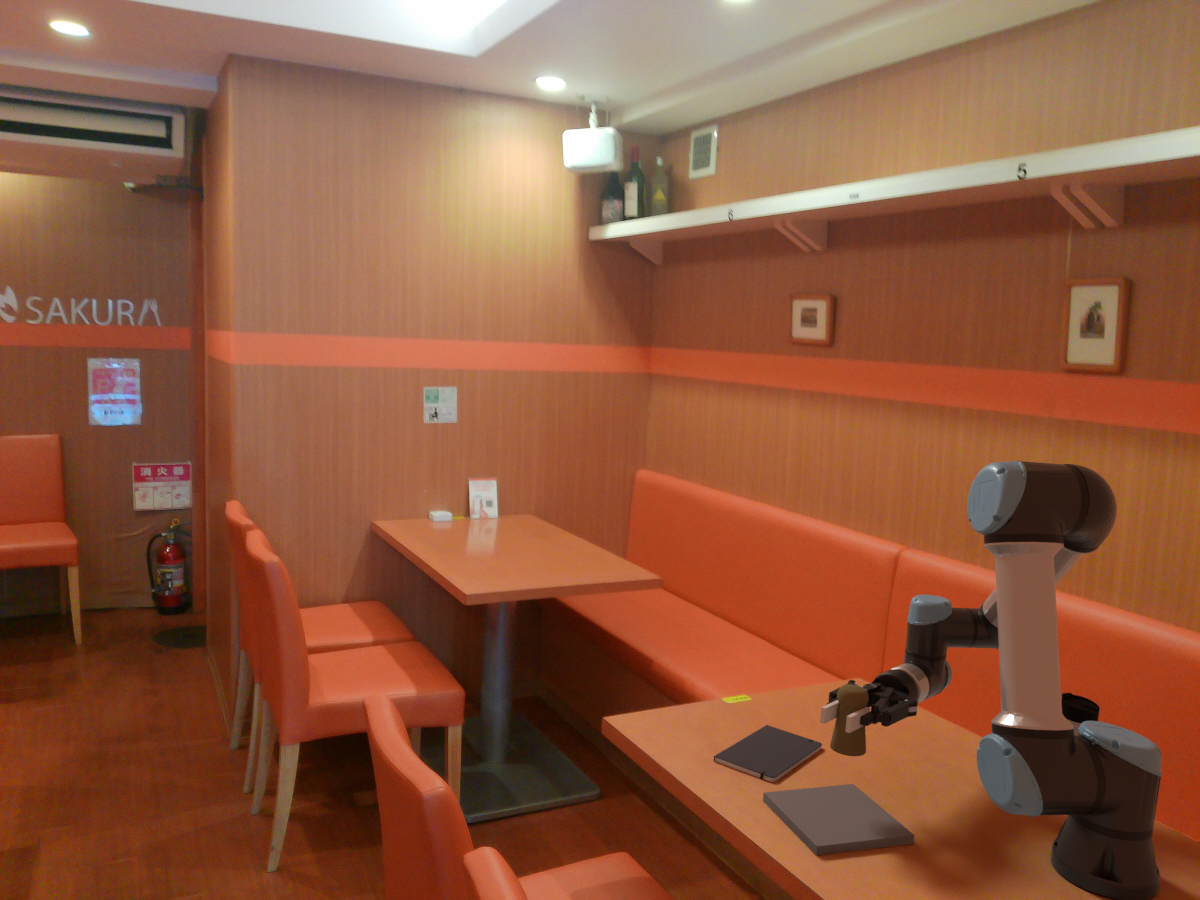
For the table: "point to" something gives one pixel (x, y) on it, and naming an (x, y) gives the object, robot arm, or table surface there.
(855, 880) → the table surface
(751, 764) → the notebook
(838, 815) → the slate board
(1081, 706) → the travel mug
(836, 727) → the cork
